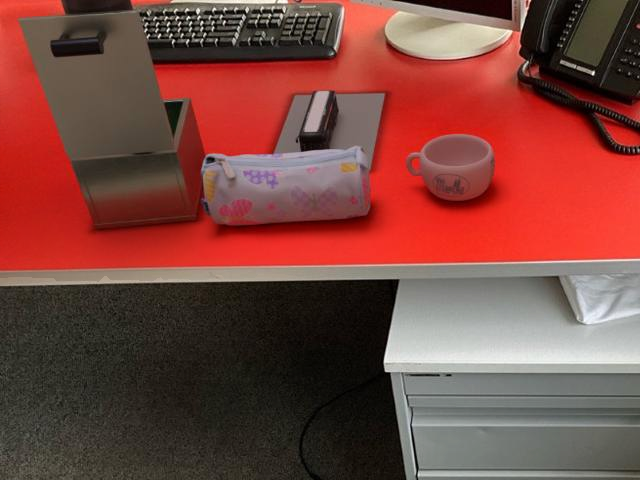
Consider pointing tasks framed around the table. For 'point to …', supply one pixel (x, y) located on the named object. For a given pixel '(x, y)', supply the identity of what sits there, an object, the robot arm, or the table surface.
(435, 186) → the mug
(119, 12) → the freezer lid
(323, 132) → the flat grey base plate
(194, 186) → the box
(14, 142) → the table surface
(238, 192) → the pencil case
